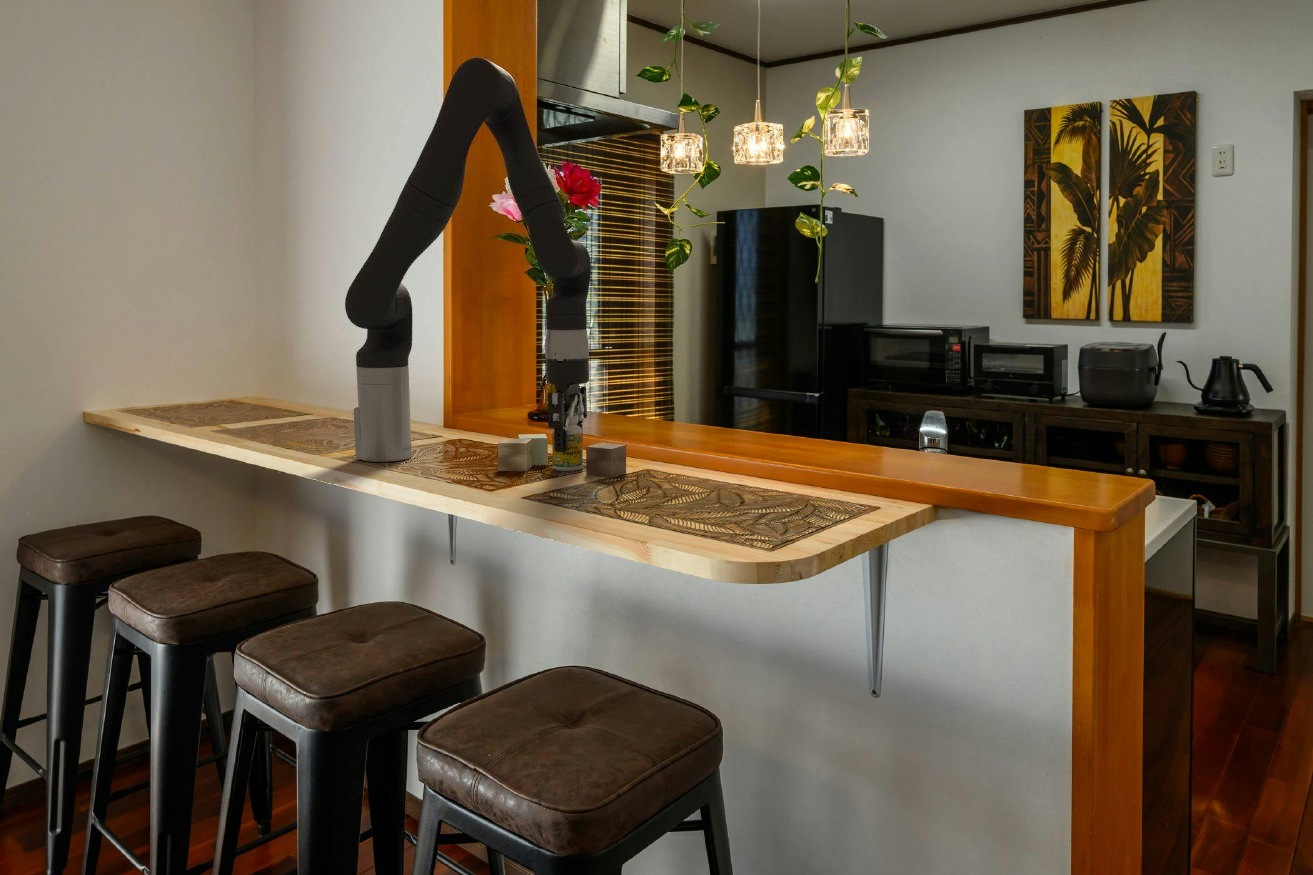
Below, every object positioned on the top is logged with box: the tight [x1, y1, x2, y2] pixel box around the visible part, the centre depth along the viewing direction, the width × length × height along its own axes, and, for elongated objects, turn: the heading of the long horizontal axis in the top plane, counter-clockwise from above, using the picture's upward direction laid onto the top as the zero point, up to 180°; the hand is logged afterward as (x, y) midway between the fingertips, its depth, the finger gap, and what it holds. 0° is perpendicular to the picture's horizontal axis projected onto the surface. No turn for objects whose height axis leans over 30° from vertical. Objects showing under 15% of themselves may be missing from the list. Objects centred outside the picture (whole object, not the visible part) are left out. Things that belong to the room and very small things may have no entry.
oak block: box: [497, 438, 533, 472], centre depth 160 cm, size 5×5×5 cm
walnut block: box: [585, 442, 627, 479], centre depth 155 cm, size 5×5×5 cm
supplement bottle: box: [551, 414, 584, 472], centre depth 159 cm, size 5×5×10 cm
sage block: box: [517, 433, 549, 466], centre depth 165 cm, size 5×5×5 cm
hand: (569, 447), depth 159 cm, fingers open, 8 cm apart
